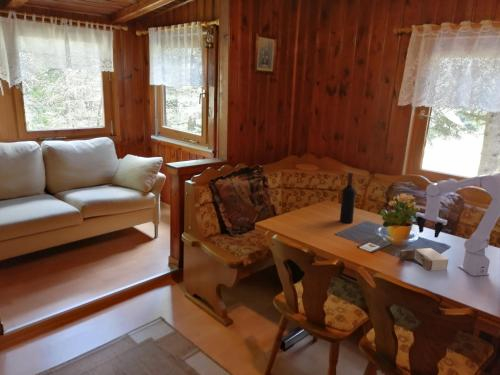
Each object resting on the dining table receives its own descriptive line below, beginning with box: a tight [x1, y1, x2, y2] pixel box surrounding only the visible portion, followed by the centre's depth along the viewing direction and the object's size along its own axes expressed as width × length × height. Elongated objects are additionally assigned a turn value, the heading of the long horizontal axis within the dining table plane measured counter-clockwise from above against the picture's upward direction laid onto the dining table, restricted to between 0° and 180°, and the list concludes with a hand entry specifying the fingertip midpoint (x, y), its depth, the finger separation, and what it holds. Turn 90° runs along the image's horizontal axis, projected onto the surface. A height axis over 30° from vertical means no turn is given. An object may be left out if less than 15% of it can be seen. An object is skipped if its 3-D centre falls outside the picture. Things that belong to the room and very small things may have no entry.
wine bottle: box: [339, 172, 356, 225], centre depth 219 cm, size 8×8×30 cm
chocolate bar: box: [356, 237, 393, 254], centre depth 189 cm, size 9×1×18 cm
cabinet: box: [413, 247, 449, 271], centre depth 169 cm, size 12×10×5 cm
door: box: [398, 248, 416, 261], centre depth 173 cm, size 8×1×5 cm, turn 103°
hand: (428, 234), depth 179 cm, fingers open, 7 cm apart
